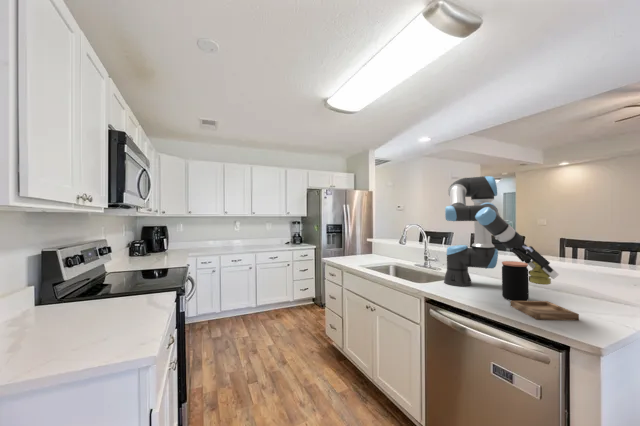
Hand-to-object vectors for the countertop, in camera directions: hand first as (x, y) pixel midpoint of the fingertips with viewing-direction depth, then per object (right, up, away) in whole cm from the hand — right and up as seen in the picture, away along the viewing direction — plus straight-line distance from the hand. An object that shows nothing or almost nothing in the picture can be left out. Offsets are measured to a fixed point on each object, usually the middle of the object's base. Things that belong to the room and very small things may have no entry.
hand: (548, 274), depth 113 cm
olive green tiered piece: (-4, -4, 0) cm, 5 cm away
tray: (-3, -17, 0) cm, 17 cm away
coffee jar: (0, -17, +19) cm, 25 cm away
